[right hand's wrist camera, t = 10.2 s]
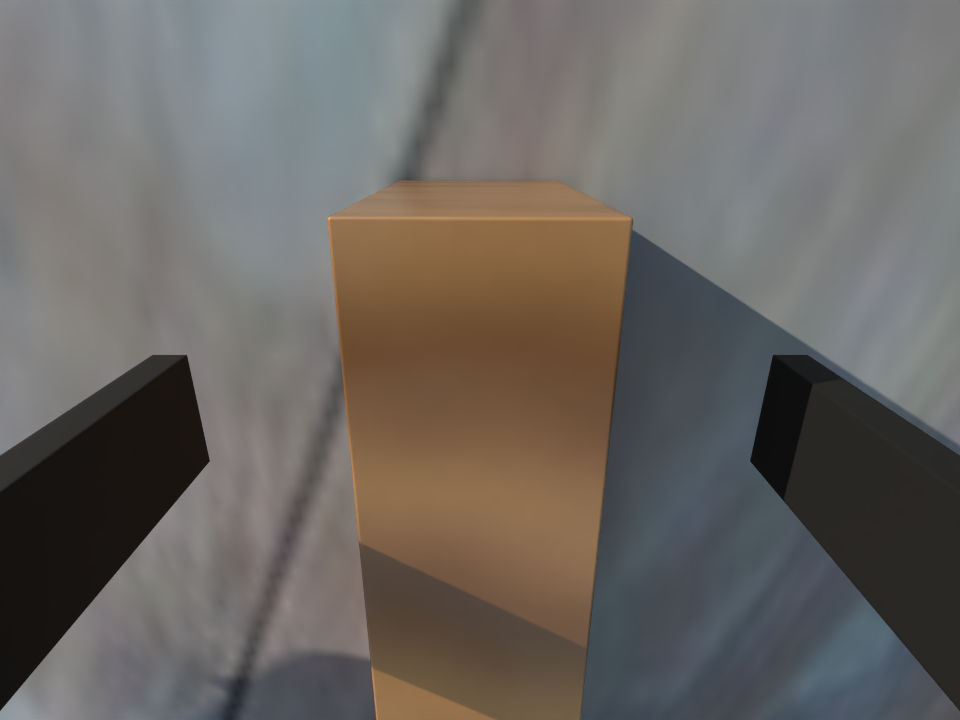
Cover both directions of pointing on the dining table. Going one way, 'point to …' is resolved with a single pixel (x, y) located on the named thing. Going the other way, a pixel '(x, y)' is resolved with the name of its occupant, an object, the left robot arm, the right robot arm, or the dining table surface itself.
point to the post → (479, 436)
